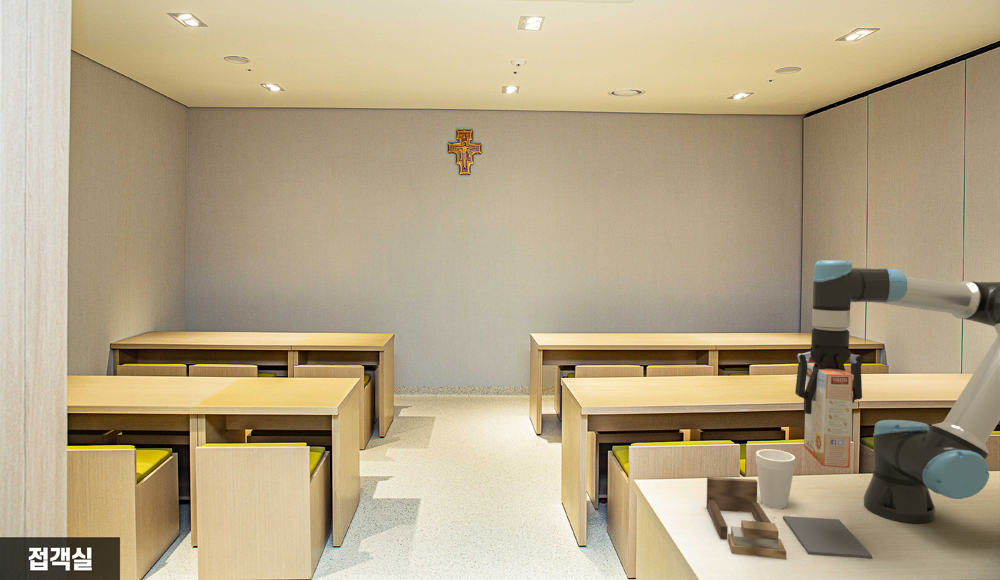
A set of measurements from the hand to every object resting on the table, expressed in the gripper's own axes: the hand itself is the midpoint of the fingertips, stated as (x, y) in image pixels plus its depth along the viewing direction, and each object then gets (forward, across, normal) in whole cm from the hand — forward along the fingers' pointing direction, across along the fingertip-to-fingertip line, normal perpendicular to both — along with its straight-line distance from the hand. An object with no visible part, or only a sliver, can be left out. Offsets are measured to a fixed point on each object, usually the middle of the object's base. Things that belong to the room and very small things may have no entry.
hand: (827, 428), depth 139 cm
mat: (+26, 0, 0) cm, 26 cm away
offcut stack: (+26, +17, +8) cm, 32 cm away
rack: (+26, +18, -4) cm, 32 cm away
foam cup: (+26, +6, -18) cm, 32 cm away
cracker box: (+7, 0, 0) cm, 7 cm away
